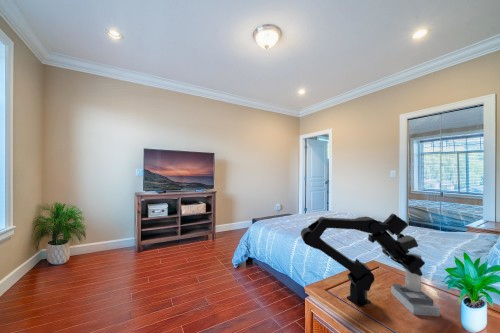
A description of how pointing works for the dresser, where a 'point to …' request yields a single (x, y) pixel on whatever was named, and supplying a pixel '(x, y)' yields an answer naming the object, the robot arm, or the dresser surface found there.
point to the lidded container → (413, 278)
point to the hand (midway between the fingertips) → (416, 272)
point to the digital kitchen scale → (415, 301)
